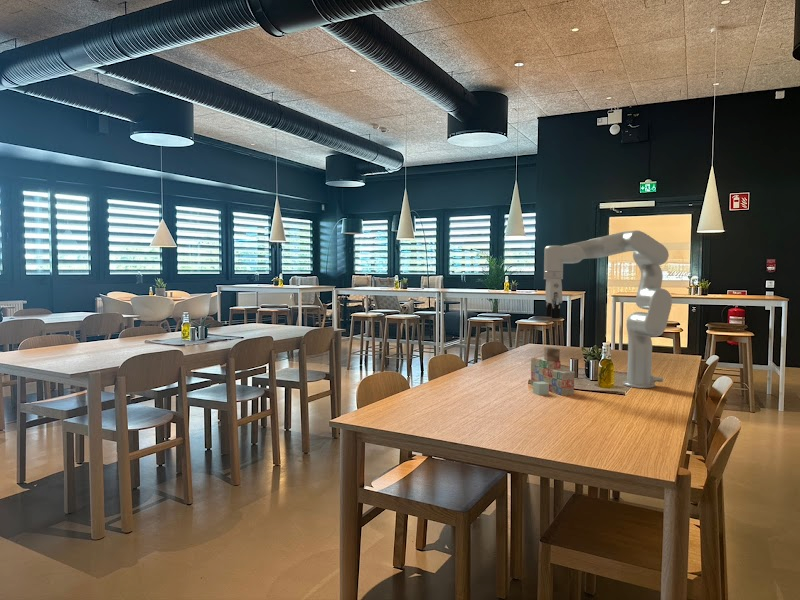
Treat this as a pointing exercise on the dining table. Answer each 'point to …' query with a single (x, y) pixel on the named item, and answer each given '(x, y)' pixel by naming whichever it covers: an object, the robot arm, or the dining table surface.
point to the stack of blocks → (552, 376)
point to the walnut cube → (551, 354)
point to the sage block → (541, 388)
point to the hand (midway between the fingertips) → (552, 317)
